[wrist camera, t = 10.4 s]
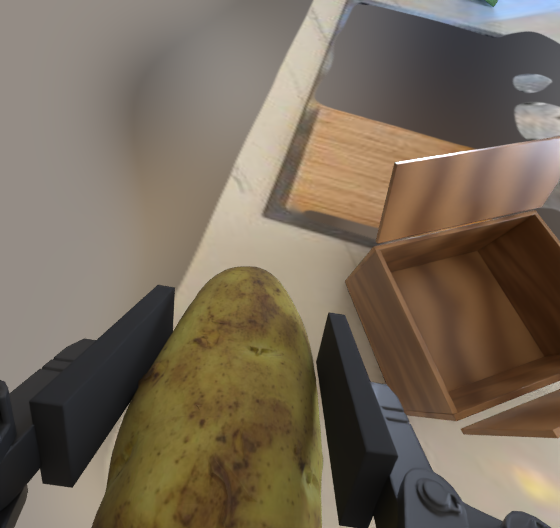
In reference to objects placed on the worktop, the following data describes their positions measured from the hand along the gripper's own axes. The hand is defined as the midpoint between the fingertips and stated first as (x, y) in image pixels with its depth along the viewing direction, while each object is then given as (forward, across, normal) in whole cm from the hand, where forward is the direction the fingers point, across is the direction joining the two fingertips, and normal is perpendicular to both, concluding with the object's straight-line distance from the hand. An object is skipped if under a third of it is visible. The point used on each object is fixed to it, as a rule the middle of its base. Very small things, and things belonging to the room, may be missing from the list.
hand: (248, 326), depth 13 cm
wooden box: (+21, +23, -8) cm, 32 cm away
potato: (0, 0, -5) cm, 5 cm away
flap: (+17, +19, +8) cm, 27 cm away
